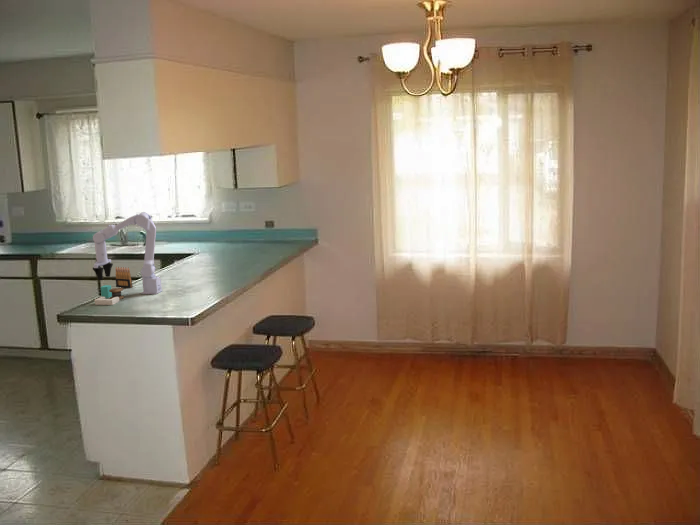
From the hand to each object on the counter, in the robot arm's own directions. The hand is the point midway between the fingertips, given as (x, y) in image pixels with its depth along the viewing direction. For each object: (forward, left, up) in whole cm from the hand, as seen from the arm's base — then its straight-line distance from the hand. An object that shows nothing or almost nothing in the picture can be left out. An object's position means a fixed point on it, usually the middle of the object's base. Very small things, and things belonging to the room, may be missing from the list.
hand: (104, 278), depth 378 cm
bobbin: (-10, +6, -10) cm, 15 cm away
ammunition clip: (-1, -19, -10) cm, 21 cm away
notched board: (-10, +16, -10) cm, 21 cm away
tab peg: (-2, +3, -10) cm, 10 cm away
